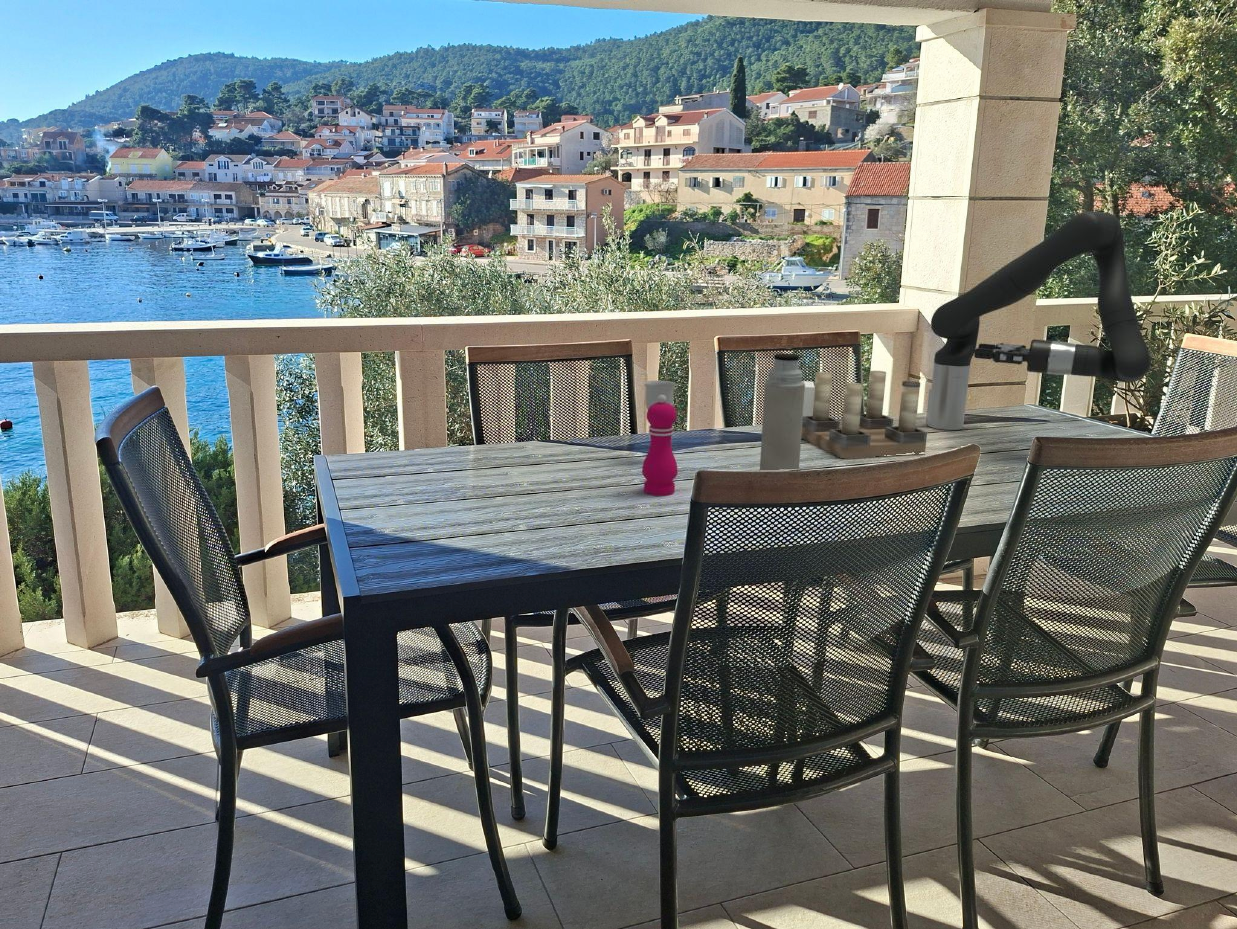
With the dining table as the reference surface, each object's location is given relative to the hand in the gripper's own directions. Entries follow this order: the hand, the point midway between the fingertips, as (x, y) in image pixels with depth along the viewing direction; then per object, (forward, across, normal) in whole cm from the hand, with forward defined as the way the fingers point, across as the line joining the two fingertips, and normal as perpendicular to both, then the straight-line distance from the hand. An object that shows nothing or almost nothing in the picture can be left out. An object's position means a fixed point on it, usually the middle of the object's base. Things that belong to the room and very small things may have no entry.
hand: (976, 350), depth 224 cm
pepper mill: (+52, +67, +25) cm, 88 cm away
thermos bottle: (+31, +53, +25) cm, 66 cm away
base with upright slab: (+40, -6, +26) cm, 48 cm away
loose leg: (+13, +7, +22) cm, 26 cm away
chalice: (+62, +44, +26) cm, 80 cm away
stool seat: (+23, +6, +25) cm, 35 cm away
